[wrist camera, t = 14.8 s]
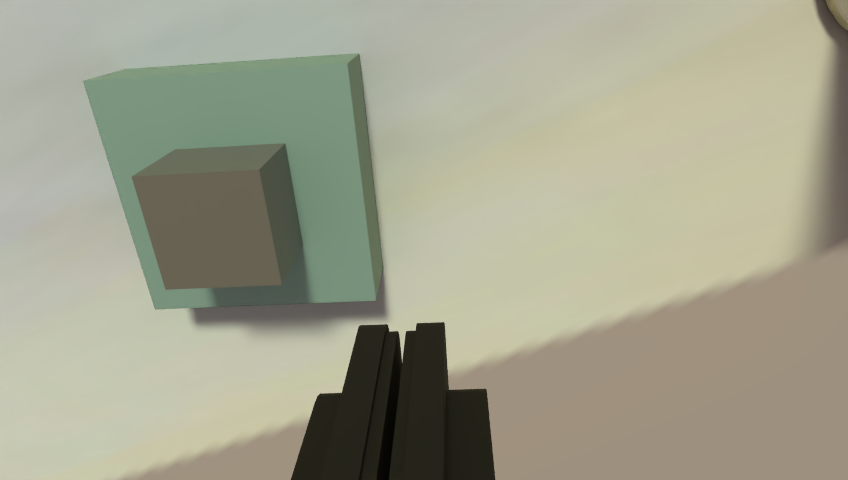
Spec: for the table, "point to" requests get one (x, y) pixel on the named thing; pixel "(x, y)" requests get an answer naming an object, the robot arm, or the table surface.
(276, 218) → the plug
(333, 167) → the socket
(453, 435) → the robot arm
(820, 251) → the table surface
